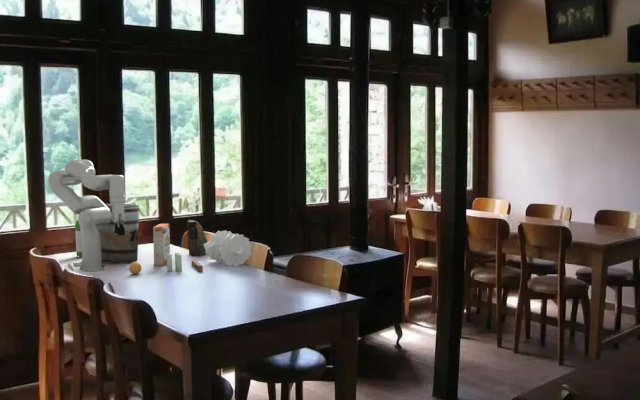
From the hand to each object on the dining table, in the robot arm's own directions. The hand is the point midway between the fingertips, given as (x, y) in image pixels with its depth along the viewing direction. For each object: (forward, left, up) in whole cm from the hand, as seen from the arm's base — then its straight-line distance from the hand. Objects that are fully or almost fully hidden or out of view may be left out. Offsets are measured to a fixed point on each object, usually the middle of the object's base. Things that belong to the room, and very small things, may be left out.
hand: (119, 234), depth 343 cm
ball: (+6, -3, -17) cm, 19 cm away
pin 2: (+28, -6, -20) cm, 35 cm away
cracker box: (+23, +19, -20) cm, 36 cm away
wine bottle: (-15, +59, -20) cm, 64 cm away
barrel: (+1, +36, -20) cm, 41 cm away
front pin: (+23, -3, -20) cm, 31 cm away
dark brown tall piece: (+47, +36, -20) cm, 63 cm away
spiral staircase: (+55, +2, -21) cm, 59 cm away
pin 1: (+28, -1, -20) cm, 34 cm away
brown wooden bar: (+37, -3, -20) cm, 43 cm away
